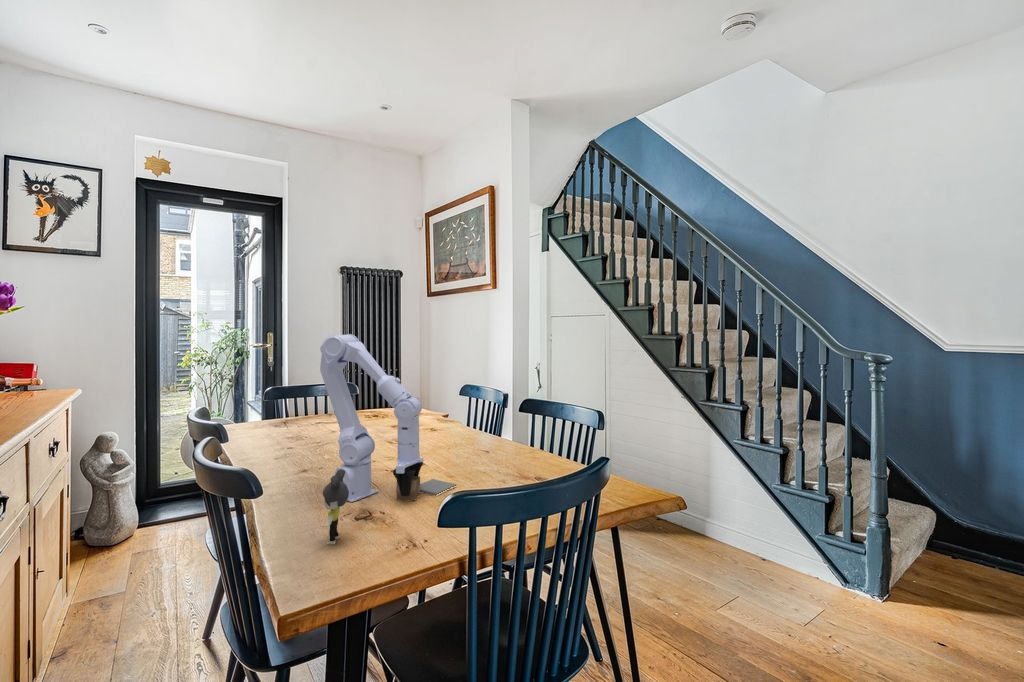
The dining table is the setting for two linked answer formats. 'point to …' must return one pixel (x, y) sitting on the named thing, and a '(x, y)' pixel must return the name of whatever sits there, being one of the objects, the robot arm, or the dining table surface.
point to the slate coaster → (435, 486)
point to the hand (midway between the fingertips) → (408, 492)
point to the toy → (335, 502)
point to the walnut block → (414, 490)
